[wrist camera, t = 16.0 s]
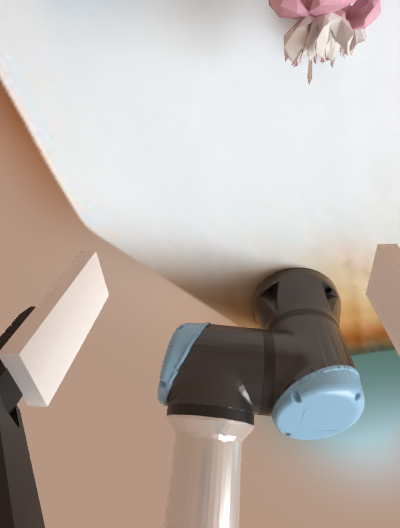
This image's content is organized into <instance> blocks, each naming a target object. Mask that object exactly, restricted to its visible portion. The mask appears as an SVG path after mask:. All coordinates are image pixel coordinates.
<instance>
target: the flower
mask: <svg viewBox="0 0 400 528" xmlns="http://www.w3.org/2000/svg"><path fill="white" fill-rule="evenodd" d="M355 1H356V2H355ZM353 2H355V3H354V4H353V5H352V7H351V5H350V4H351V3H353ZM269 5H270V6H271V7H272V9H273V10H274V11H275V12H276V13H277V15H278V16H279V17H284V18H295V19H300V20H299V21H298V22H297V23H296V24H295V25H294V26H293V27H292V28H291V29H290V30H289V31H288V32H287V33H286V34H285V35H284V53H285V61H286V60H287V59H288V58H289V59H290V60H291V62H292V65H293V64H294V67H295V66H298V65H299V64H300V63H301V58H302V56H304V55H305V54H308V56H309V65H308V76H307V77H308V82H309V84H310V82H311V79H312V59H313V58H314V62H315V63H316V60H317V54H318V55H320V56H321V60H320V61H321V62H325V61H324V59H323V58H324V57H326V60H330V61H331V66H332V68H333V65H334V59H335V56H336V54H337V52H338V51H339V49H340V55H341V56H342V57H344V53H345V54H347V52H348V50H349V47H350V54H351V56H352V57H353V58H354V53H355V49H356V44H358V43H360V42H362V41H365V39H366V32H365V28H366V27H367V26H368V25H370V24H371V23H372V22H373V21H374V20H375V19H376V18H377V17H378V15H379V14H380V12H381V9H380V0H269ZM300 54H301V57H300V59H299V62H298V63H297V60H298V58H299V56H300ZM347 55H348V54H347ZM344 58H345V57H344Z"/></svg>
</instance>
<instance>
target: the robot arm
mask: <svg viewBox="0 0 400 528" xmlns="http://www.w3.org/2000/svg"><path fill="white" fill-rule="evenodd" d="M366 295H367V297H368V299H369V301H370V303H371V304H372V306H373V308H374V310H375V312H376V314H377V315H378V317H379V319H380V321H381V323H382V325H383V327H384V328H385V330H386V332H387V334H388V336H389V338H390V339H391V341H392V343H393V345H394V347H395V349H396V351H397V352H398V354H399V356H400V248H399V247H398V245H397V244H378V245H377V250H376V254H375V258H374V262H373V266H372V271H371V275H370V279H369V283H368V287H367V292H366ZM108 296H109V294H108V290H107V287H106V283H105V280H104V277H103V273H102V270H101V266H100V263H99V260H98V256H97V253H96V251H82V252H80V254H79V255H78V256H77V257H76V259H75V260H74V261H73V262H72V263H71V265H70V266H69V267H68V268H67V270H66V271H65V272H64V273H63V275H62V276H61V277H60V278H59V279H58V281H57V282H56V283H55V284H54V285H53V287H52V288H51V289H50V290H49V291H48V293H47V294H46V295H45V296H44V298H43V299H42V300H41V301H40V303H39V304H38V305H37V306H36V307H30V308H28V309H27V310H25V311H24V312H22V313H21V314H20V315H19V316H18V317H17V318H16V319H15V321H13V323H12V325H11V326H9V327H8V328H7V330H6V331H5V333H3V334H2V335H1V337H0V528H45V526H44V521H43V516H42V512H41V507H40V502H39V497H38V493H37V488H36V483H35V479H34V474H33V470H32V465H31V460H30V455H29V451H28V446H27V441H26V437H25V432H24V427H23V423H22V418H21V413H20V410H19V408H18V406H17V403H18V402H19V400H20V398H21V397H22V396H23V397H24V399H25V401H26V402H27V404H28V406H48V405H49V403H50V401H51V399H52V398H53V396H54V394H55V392H56V390H57V389H58V387H59V385H60V383H61V381H62V380H63V378H64V376H65V374H66V372H67V370H68V369H69V367H70V365H71V363H72V361H73V360H74V358H75V356H76V354H77V352H78V350H79V348H80V347H81V345H82V343H83V341H84V339H85V338H86V336H87V334H88V332H89V331H90V329H91V327H92V325H93V323H94V321H95V320H96V318H97V316H98V314H99V312H100V311H101V309H102V307H103V305H104V303H105V301H106V300H107V298H108ZM253 310H254V316H255V319H256V321H257V323H258V325H259V327H260V329H257V328H245V327H234V326H224V325H215V324H211V323H205V324H196V323H186V324H183V325H181V326H179V327H178V328H177V329H176V331H175V332H174V334H173V336H172V338H171V341H170V343H169V345H168V349H167V351H166V354H165V358H164V361H163V365H162V369H161V374H160V379H161V380H160V383H159V387H158V400H159V402H160V403H161V404H163V405H164V406H167V405H168V409H167V416H166V420H167V421H168V422H169V424H170V426H171V427H172V428H173V430H174V433H175V443H174V451H173V459H172V466H171V467H172V468H171V475H170V482H169V490H168V498H167V506H166V514H165V522H164V528H239V505H240V476H241V475H240V474H241V445H242V442H243V440H244V438H245V437H246V436H247V435H248V434H249V433H250V432H251V431H252V430H253V429H254V414H257V415H267V416H272V419H273V422H274V423H275V426H276V427H277V429H278V430H279V431H280V432H281V433H285V434H286V435H287V436H289V437H291V438H295V439H301V440H314V439H322V438H326V437H330V436H333V435H336V434H338V433H340V432H342V431H344V430H345V429H348V428H349V427H350V426H352V425H353V424H354V423H355V422H356V421H357V420H358V419H359V417H360V416H361V414H362V412H363V409H364V403H365V399H364V394H363V391H362V387H361V383H360V377H359V373H358V372H357V371H356V369H355V366H354V364H353V362H352V358H351V356H350V353H349V351H348V348H347V346H346V343H345V340H344V338H343V335H342V333H341V330H340V328H339V322H340V312H341V301H340V297H339V294H338V292H337V290H336V287H335V285H334V284H333V283H332V281H331V280H330V279H329V278H327V277H326V276H325V275H323V274H321V273H319V272H317V271H314V270H310V269H304V268H294V269H287V270H283V271H280V272H277V273H275V274H273V275H271V276H270V277H268V278H267V279H265V280H264V281H263V282H262V283H261V284H260V285H259V287H258V288H257V290H256V292H255V295H254V298H253Z"/></svg>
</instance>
